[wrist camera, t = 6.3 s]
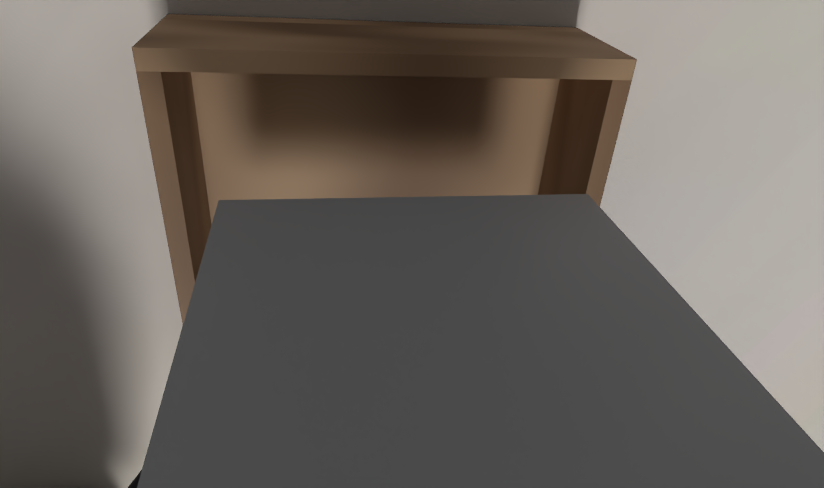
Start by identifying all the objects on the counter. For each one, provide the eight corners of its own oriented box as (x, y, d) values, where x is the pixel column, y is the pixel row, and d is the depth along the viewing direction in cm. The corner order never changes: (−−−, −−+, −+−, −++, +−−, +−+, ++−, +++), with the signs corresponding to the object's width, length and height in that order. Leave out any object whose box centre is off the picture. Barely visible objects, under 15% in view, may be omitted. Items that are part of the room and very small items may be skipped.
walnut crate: (217, 345, 17) (201, 425, 15) (167, 14, 12) (131, 46, 10) (517, 329, 19) (550, 399, 16) (576, 27, 14) (636, 59, 11)
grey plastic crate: (251, 460, 12) (210, 879, 7) (218, 200, 9) (101, 613, 4) (530, 437, 13) (673, 791, 8) (587, 193, 10) (882, 518, 5)
